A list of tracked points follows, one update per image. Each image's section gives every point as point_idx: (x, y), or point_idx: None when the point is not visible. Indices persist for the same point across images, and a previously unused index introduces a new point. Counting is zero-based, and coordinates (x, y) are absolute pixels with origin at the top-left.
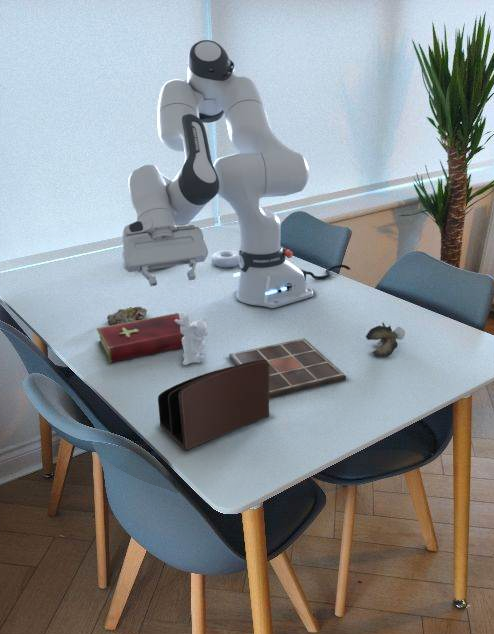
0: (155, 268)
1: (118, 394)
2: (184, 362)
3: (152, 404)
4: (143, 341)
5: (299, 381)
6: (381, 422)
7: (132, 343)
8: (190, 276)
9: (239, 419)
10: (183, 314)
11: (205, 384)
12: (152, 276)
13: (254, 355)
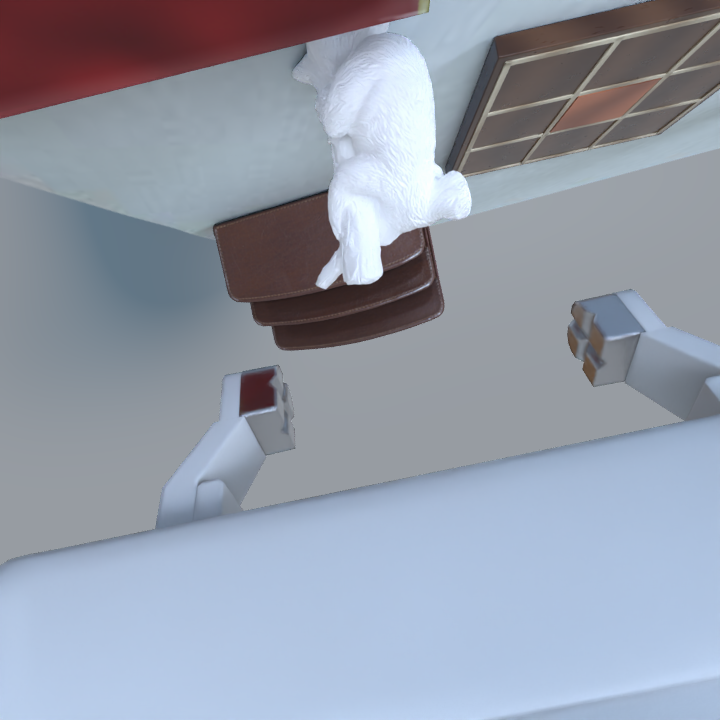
0: (324, 495)
1: (64, 179)
2: (301, 81)
3: (185, 192)
4: (94, 92)
5: (553, 151)
6: (566, 185)
7: (27, 111)
8: (577, 346)
9: None
10: (364, 283)
11: (320, 336)
12: (270, 453)
13: (570, 69)
